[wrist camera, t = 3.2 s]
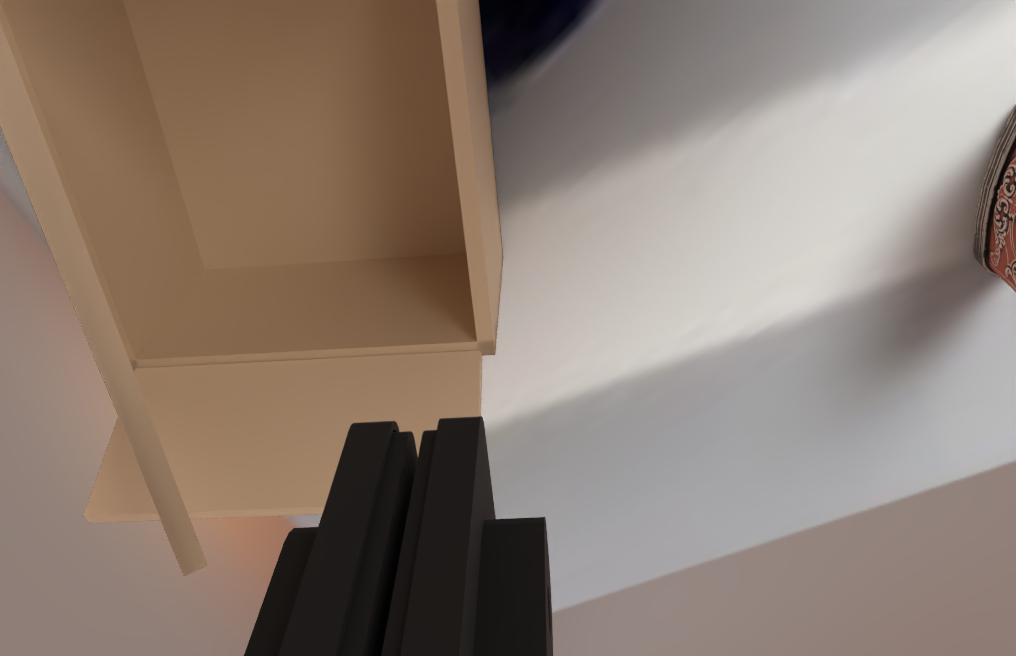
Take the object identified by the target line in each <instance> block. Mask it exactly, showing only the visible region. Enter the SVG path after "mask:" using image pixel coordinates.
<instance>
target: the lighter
mask: <svg viewBox="0 0 1016 656" xmlns="http://www.w3.org/2000/svg"><path fill="white" fill-rule="evenodd" d="M973 252H974V257H975V259H976V260H977V261H978V262H979V263H980V264H981V265H982V266H983V267H984V268H985V269H986V270H987V271H988V272H989V273H991V274H993V275H995V276H998V277H1001V278H1002V279H1003V280H1004V281H1005V282H1006V283H1007V284H1008V285H1009V286H1010V287H1011V288H1012V289H1013V290H1014V291H1015V292H1016V106H1015V107H1014V109H1013V111H1012V113H1011V115H1010V117H1009V119H1008V121H1007V123H1006V125H1005V127H1004V129H1003V131H1002V134H1001V136H1000V138H999V140H998V142H997V144H996V146H995V149H994V152H993V155H992V157H991V160H990V163H989V166H988V169H987V172H986V174H985V177H984V180H983V183H982V188H981V193H980V198H979V203H978V208H977V213H976V218H975V231H974V246H973Z"/></svg>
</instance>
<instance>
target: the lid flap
mask: <svg viewBox="0 0 1016 656" xmlns="http://www.w3.org/2000/svg"><path fill="white" fill-rule="evenodd" d="M0 127H1V130H2V132H3V135H4V137H5V140H6V142H7V144H8V147H9V149H10V152H11V154H12V157H13V159H14V162H15V164H16V167H17V169H18V172H19V174H20V176H21V179H22V181H23V184H24V186H25V189H26V191H27V194H28V196H29V199H30V201H31V203H32V206H33V208H34V211H35V213H36V216H37V218H38V221H39V223H40V226H41V228H42V230H43V233H44V235H45V238H46V240H47V243H48V245H49V248H50V250H51V253H52V255H53V258H54V260H55V262H56V265H57V267H58V270H59V272H60V275H61V277H62V280H63V282H64V285H65V287H66V289H67V292H68V294H69V297H70V299H71V301H72V304H73V307H74V309H75V312H76V314H77V316H78V319H79V321H80V324H81V326H82V329H83V331H84V334H85V336H86V339H87V341H88V343H89V346H90V348H91V351H92V353H93V355H94V358H95V360H96V363H97V366H98V368H99V371H100V373H101V375H102V378H103V380H104V383H105V385H106V388H107V390H108V392H109V395H110V397H111V400H112V402H113V405H114V407H115V409H116V412H117V414H118V417H119V419H120V422H121V424H122V426H123V429H124V431H125V434H126V436H127V439H128V441H129V443H130V446H131V448H132V451H133V453H134V456H135V458H136V460H137V463H138V465H139V468H140V470H141V473H142V475H143V478H144V480H145V483H146V485H147V487H148V490H149V492H150V495H151V497H152V500H153V502H154V505H155V507H156V510H157V512H158V514H159V517H160V519H161V522H162V524H163V527H164V529H165V532H166V534H167V537H168V539H169V541H170V544H171V546H172V549H173V551H174V554H175V556H176V559H177V561H178V563H179V565H180V568H181V570H182V573H183V575H184V576H186V575H188V574H190V573H192V572H194V571H197V570H199V569H201V568H203V567H205V566H207V563H206V560H205V557H204V555H203V552H202V549H201V547H200V545H199V542H198V539H197V537H196V534H195V531H194V529H193V526H192V523H191V521H190V518H189V515H188V513H187V510H186V508H185V505H184V502H183V500H182V497H181V494H180V492H179V489H178V487H177V484H176V481H175V479H174V476H173V473H172V471H171V468H170V466H169V463H168V460H167V458H166V455H165V453H164V450H163V447H162V445H161V442H160V439H159V437H158V434H157V432H156V429H155V426H154V424H153V421H152V418H151V416H150V413H149V411H148V408H147V405H146V403H145V400H144V397H143V395H142V392H141V390H140V387H139V384H138V382H137V379H136V377H135V374H134V371H133V369H132V366H131V363H130V361H129V358H128V356H127V353H126V350H125V348H124V345H123V342H122V340H121V337H120V335H119V332H118V329H117V327H116V324H115V322H114V319H113V316H112V314H111V311H110V308H109V306H108V303H107V301H106V298H105V295H104V293H103V290H102V287H101V285H100V282H99V280H98V277H97V274H96V272H95V269H94V266H93V264H92V261H91V259H90V256H89V253H88V251H87V248H86V246H85V243H84V240H83V238H82V235H81V232H80V230H79V227H78V225H77V222H76V219H75V217H74V214H73V211H72V209H71V206H70V204H69V201H68V198H67V196H66V193H65V190H64V188H63V185H62V183H61V180H60V177H59V175H58V172H57V170H56V167H55V164H54V162H53V159H52V156H51V154H50V151H49V149H48V146H47V143H46V141H45V138H44V135H43V133H42V130H41V128H40V125H39V122H38V120H37V117H36V115H35V112H34V109H33V107H32V104H31V101H30V99H29V96H28V94H27V91H26V88H25V86H24V83H23V80H22V78H21V75H20V73H19V70H18V67H17V65H16V62H15V59H14V57H13V54H12V52H11V49H10V46H9V44H8V41H7V39H6V36H5V33H4V31H3V28H2V25H1V23H0Z"/></svg>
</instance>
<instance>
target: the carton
mask: <svg viewBox="0 0 1016 656" xmlns="http://www.w3.org/2000/svg"><path fill="white" fill-rule="evenodd" d="M0 23H1V25H2V28H3V31H4V33H5V36H6V39H7V41H8V44H9V46H10V49H11V52H12V54H13V57H14V59H15V62H16V65H17V67H18V70H19V73H20V75H21V78H22V80H23V83H24V86H25V88H26V91H27V94H28V96H29V99H30V101H31V104H32V107H33V109H34V112H35V115H36V117H37V120H38V122H39V125H40V128H41V130H42V133H43V135H44V138H45V141H46V143H47V146H48V149H49V151H50V154H51V156H52V159H53V162H54V164H55V167H56V170H57V172H58V175H59V177H60V180H61V183H62V185H63V188H64V190H65V193H66V196H67V198H68V201H69V204H70V206H71V209H72V211H73V214H74V217H75V219H76V222H77V225H78V227H79V230H80V232H81V235H82V238H83V240H84V243H85V246H86V248H87V251H88V253H89V256H90V259H91V261H92V264H93V266H94V269H95V272H96V274H97V277H98V280H99V282H100V285H101V287H102V290H103V293H104V295H105V298H106V301H107V303H108V306H109V308H110V311H111V314H112V316H113V319H114V322H115V324H116V327H117V329H118V332H119V335H120V337H121V340H122V342H123V345H124V348H125V350H126V353H127V356H128V358H129V361H130V363H131V366H132V369H133V371H134V374H135V377H136V379H137V382H138V384H139V387H140V390H141V392H142V395H143V397H144V400H145V403H146V405H147V408H148V411H149V413H150V416H151V418H152V421H153V424H154V426H155V429H156V432H157V434H158V437H159V439H160V442H161V445H162V447H163V450H164V453H165V455H166V458H167V460H168V463H169V466H170V468H171V471H172V473H173V476H174V479H175V481H176V484H177V487H178V489H179V492H180V494H181V497H182V500H183V502H184V505H185V508H186V510H187V513H188V515H189V518H190V519H208V518H231V517H232V518H233V517H257V516H258V517H259V516H284V515H310V514H323V511H324V507H325V504H326V501H327V498H328V495H329V491H330V488H331V485H332V482H333V479H334V475H335V472H336V469H337V466H338V463H339V459H340V456H341V453H342V450H343V447H344V443H345V440H346V437H347V434H348V431H349V428H350V426H351V424H353V423H362V422H382V421H395V422H396V423H397V425H398V427H399V432H406V431H411V432H412V433H413V435H414V439H415V444H416V450H417V455H418V454H419V449H420V444H421V438H422V434H423V431H425V430H437V426H438V421H439V419H440V418H459V417H478V416H481V386H482V355H495V350H496V338H497V326H498V314H499V302H500V290H501V278H502V266H503V250H502V240H501V229H500V219H499V208H498V198H497V187H496V177H495V166H494V155H493V145H492V134H491V124H490V113H489V103H488V92H487V82H486V71H485V61H484V50H483V40H482V29H481V19H480V8H479V0H0ZM83 517H84V518H85V519H86V520H87V521H88V522H90V523H106V522H129V521H130V522H131V521H155V520H156V521H157V520H161V519H160V517H159V514H158V512H157V510H156V507H155V505H154V502H153V500H152V497H151V495H150V492H149V490H148V487H147V485H146V483H145V480H144V478H143V475H142V473H141V470H140V468H139V465H138V463H137V460H136V458H135V456H134V453H133V451H132V448H131V446H130V443H129V441H128V439H127V436H126V434H125V431H124V429H123V426H122V424H121V422H120V419H119V417H118V419H117V422H116V424H115V427H114V430H113V433H112V436H111V439H110V442H109V444H108V447H107V450H106V453H105V455H104V458H103V461H102V464H101V467H100V470H99V473H98V475H97V478H96V481H95V484H94V487H93V490H92V492H91V495H90V498H89V501H88V504H87V506H86V509H85V512H84V515H83Z"/></svg>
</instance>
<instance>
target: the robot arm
mask: <svg viewBox="0 0 1016 656" xmlns="http://www.w3.org/2000/svg"><path fill="white" fill-rule="evenodd" d="M244 656H553V636H552V606H551V586H550V569H549V555H548V542H547V530H546V520H545V517H540V518H517V519H495V510H494V502H493V494H492V486H491V477H490V469H489V461H488V453H487V444H486V436H485V428H484V422H483V418H482V416H478V417H459V418H440V419H439V421H438V426H437V430H425V431H423V434H422V438H421V444H420V449H419V454H418V455H417V450H416V444H415V439H414V435H413V433H412V432H411V431H406V432H399V427H398V425H397V423H396V422H395V421H382V422H362V423H353V424H351V426H350V428H349V431H348V434H347V437H346V440H345V443H344V447H343V450H342V453H341V456H340V459H339V463H338V466H337V469H336V472H335V475H334V479H333V482H332V485H331V488H330V491H329V495H328V498H327V501H326V504H325V507H324V511H323V514H322V517H321V520H320V524H319V527H310V528H294V529H293V530H292V531H291V532H289V534H288V536H287V538H286V540H285V542H284V544H283V547H282V550H281V553H280V556H279V558H278V561H277V564H276V567H275V570H274V573H273V576H272V578H271V581H270V584H269V587H268V589H267V592H266V595H265V598H264V601H263V604H262V606H261V609H260V612H259V615H258V618H257V621H256V623H255V626H254V629H253V632H252V635H251V637H250V640H249V643H248V646H247V649H246V652H245V654H244Z"/></svg>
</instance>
